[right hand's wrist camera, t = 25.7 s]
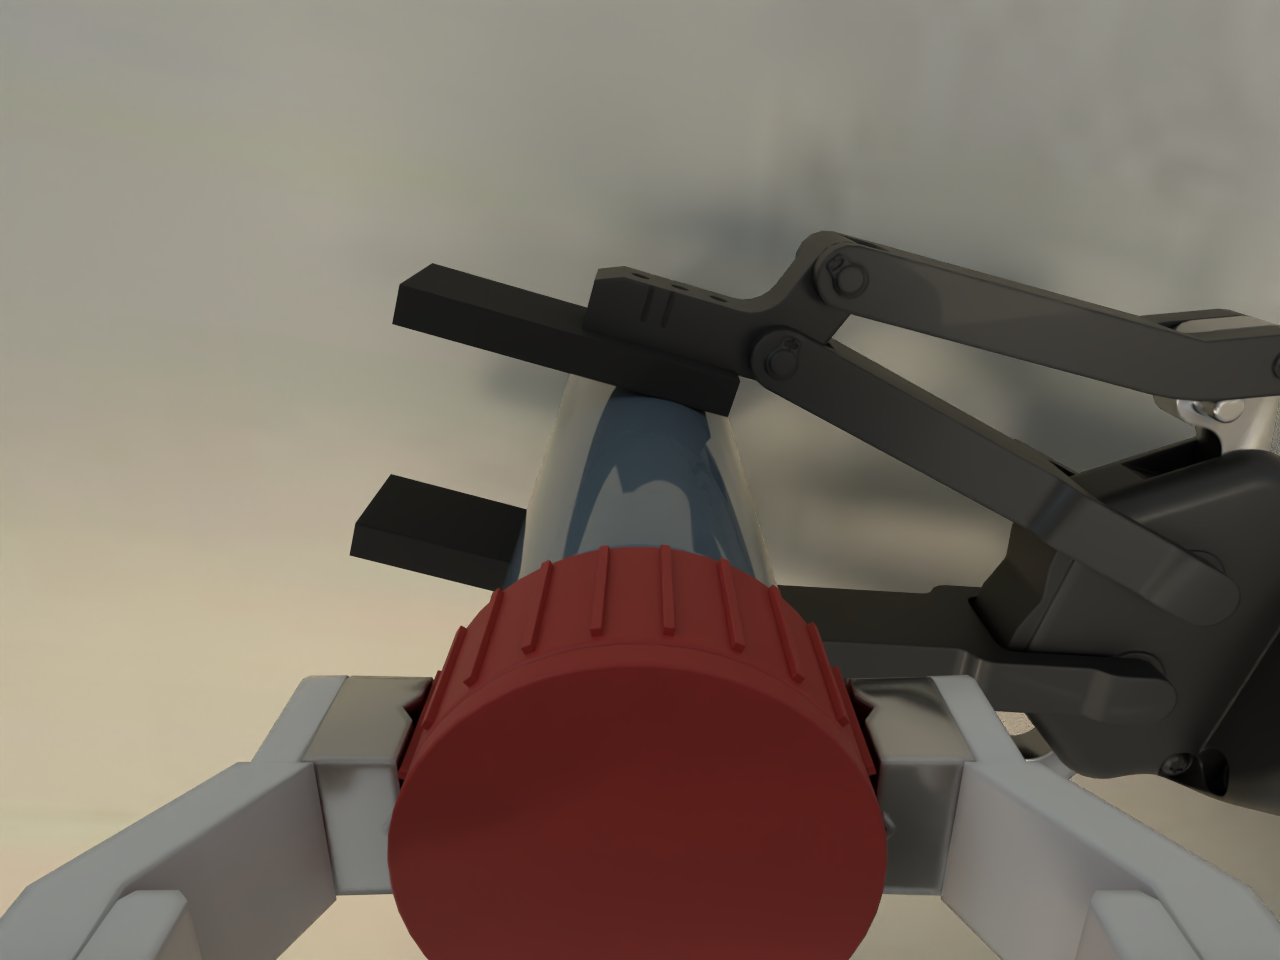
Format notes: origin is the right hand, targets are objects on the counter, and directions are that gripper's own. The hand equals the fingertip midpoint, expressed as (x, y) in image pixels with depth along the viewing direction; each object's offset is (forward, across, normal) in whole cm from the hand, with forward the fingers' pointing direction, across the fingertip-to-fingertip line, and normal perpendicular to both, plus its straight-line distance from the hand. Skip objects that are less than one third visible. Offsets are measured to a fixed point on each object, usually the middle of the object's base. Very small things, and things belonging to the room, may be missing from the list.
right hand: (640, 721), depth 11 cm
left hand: (+9, -5, +1) cm, 10 cm away
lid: (-2, 0, 0) cm, 2 cm away
